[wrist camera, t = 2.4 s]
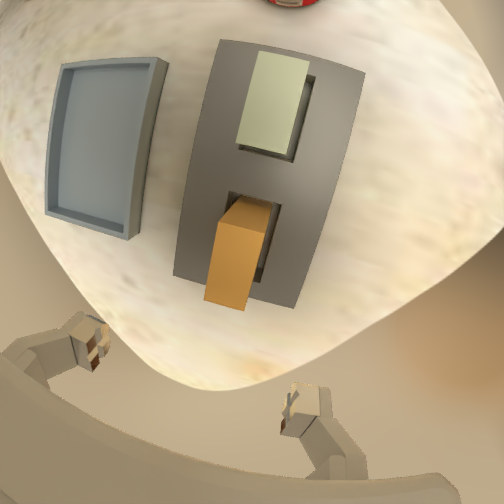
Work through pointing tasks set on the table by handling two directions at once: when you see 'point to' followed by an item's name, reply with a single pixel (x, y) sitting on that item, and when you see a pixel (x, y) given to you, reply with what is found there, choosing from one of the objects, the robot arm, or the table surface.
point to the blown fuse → (237, 252)
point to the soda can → (293, 2)
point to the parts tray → (102, 142)
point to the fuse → (272, 102)
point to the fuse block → (265, 169)
